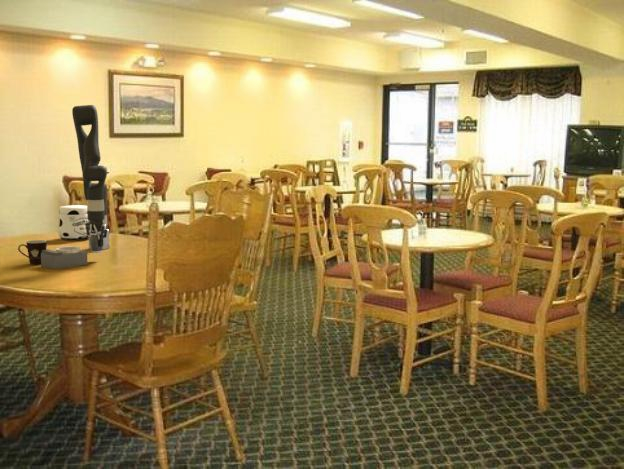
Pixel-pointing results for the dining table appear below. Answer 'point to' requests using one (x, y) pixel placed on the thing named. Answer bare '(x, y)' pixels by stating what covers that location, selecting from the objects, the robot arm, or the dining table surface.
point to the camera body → (63, 258)
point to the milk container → (73, 222)
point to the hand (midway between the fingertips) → (96, 245)
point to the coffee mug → (34, 250)
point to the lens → (95, 243)
